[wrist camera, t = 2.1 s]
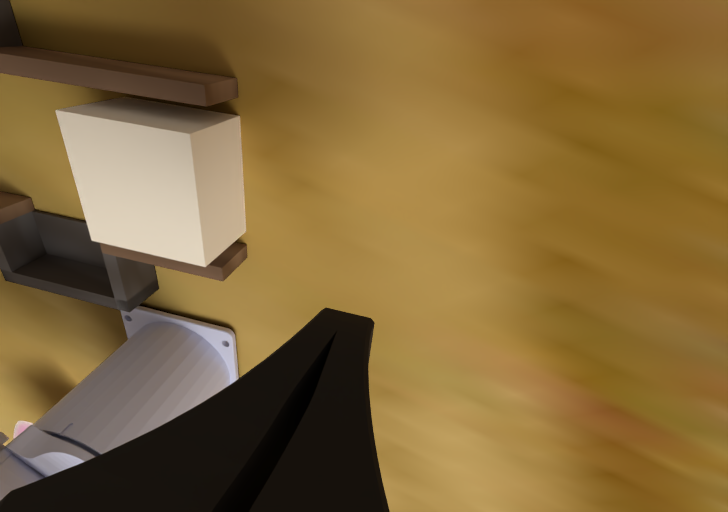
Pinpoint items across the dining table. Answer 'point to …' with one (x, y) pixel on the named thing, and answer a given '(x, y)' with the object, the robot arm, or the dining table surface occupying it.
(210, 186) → the cream block
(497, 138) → the dining table surface
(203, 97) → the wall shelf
